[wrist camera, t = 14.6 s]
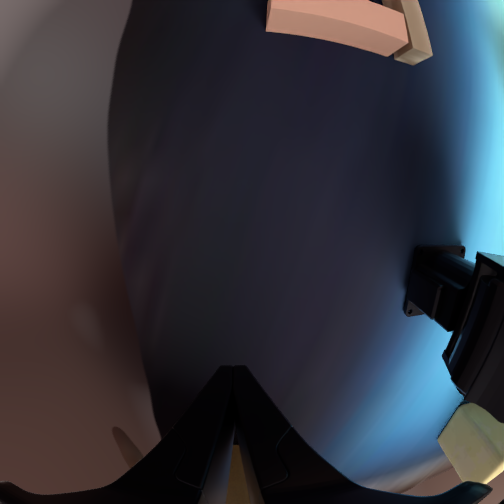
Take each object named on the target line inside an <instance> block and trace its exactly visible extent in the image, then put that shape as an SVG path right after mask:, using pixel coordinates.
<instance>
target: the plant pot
mask: <svg viewBox="0 0 504 504" xmlns="http://www.w3.org/2000/svg"><path fill="white" fill-rule="evenodd" d="M226 504H251V502H250V498H249V493H248V489H247V484H246V479H245V474H244V469H243V464H242V459H241V454H240V449H239V445H233V448H232V456H231V464H230V472H229V480H228V488H227V496H226Z"/></svg>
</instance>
